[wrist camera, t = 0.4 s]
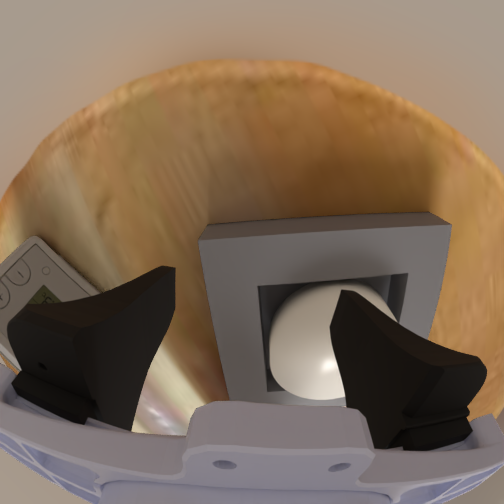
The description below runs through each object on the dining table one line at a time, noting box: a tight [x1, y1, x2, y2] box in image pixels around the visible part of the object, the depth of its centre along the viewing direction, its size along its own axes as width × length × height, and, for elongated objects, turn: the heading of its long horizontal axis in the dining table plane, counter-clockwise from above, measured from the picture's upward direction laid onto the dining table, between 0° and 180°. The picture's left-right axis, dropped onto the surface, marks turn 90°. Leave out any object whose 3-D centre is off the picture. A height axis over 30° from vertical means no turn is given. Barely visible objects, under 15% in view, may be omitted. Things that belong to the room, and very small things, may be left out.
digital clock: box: [0, 236, 101, 372], centre depth 20 cm, size 16×9×11 cm, turn 37°
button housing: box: [198, 212, 452, 407], centre depth 23 cm, size 18×18×4 cm
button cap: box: [269, 279, 398, 400], centre depth 21 cm, size 10×10×3 cm
